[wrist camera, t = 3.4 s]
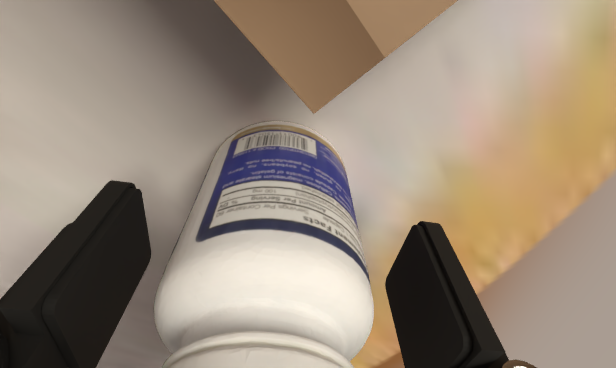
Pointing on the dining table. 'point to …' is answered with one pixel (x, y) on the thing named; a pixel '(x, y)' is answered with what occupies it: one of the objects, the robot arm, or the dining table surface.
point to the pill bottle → (268, 260)
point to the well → (328, 37)
